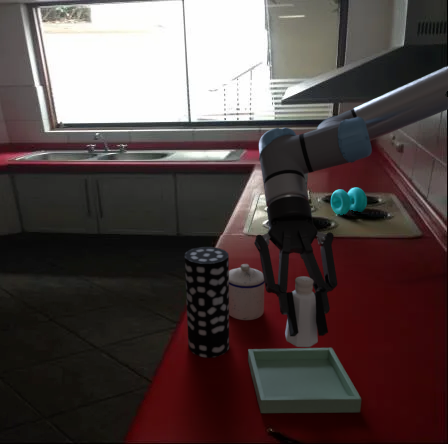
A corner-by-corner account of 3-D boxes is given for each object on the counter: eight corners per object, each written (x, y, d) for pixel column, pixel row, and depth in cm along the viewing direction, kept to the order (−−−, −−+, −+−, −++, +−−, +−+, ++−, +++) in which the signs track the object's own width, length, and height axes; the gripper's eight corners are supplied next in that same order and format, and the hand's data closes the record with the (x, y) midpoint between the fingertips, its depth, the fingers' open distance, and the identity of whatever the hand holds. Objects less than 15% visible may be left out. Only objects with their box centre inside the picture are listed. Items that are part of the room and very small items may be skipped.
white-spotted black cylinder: (195, 331, 91) (192, 245, 84) (233, 337, 87) (232, 249, 81) (182, 353, 83) (178, 261, 77) (223, 361, 80) (222, 265, 74)
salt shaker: (313, 351, 67) (317, 289, 63) (280, 342, 70) (282, 282, 66) (321, 334, 71) (325, 275, 68) (289, 326, 74) (292, 269, 70)
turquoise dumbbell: (367, 215, 158) (369, 190, 155) (343, 218, 157) (345, 192, 154) (350, 208, 168) (352, 184, 165) (328, 211, 166) (330, 187, 163)
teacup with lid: (270, 307, 98) (272, 262, 95) (255, 325, 91) (255, 277, 88) (225, 295, 105) (224, 252, 101) (207, 311, 98) (206, 266, 95)
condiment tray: (331, 359, 79) (332, 347, 78) (360, 412, 66) (361, 399, 65) (247, 360, 80) (248, 349, 79) (260, 413, 67) (260, 400, 66)
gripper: (328, 212, 79) (355, 338, 68) (239, 215, 80) (251, 340, 69) (341, 192, 72) (372, 327, 62) (243, 196, 73) (257, 330, 63)
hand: (308, 333), depth 66 cm, fingers closed on salt shaker, 4 cm apart
